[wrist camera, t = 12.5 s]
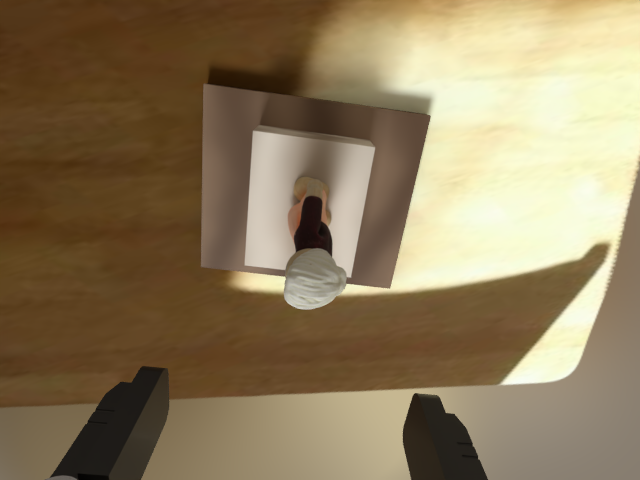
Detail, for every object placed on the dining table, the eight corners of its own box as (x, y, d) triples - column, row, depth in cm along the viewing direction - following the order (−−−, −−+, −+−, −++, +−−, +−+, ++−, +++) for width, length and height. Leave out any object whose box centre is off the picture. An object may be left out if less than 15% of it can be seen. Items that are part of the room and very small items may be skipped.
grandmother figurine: (276, 169, 29) (248, 233, 17) (325, 158, 29) (331, 215, 17) (300, 259, 32) (291, 364, 20) (346, 249, 32) (362, 351, 20)
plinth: (204, 261, 37) (190, 285, 33) (207, 83, 31) (190, 84, 27) (387, 282, 38) (396, 308, 34) (426, 114, 32) (443, 120, 28)
